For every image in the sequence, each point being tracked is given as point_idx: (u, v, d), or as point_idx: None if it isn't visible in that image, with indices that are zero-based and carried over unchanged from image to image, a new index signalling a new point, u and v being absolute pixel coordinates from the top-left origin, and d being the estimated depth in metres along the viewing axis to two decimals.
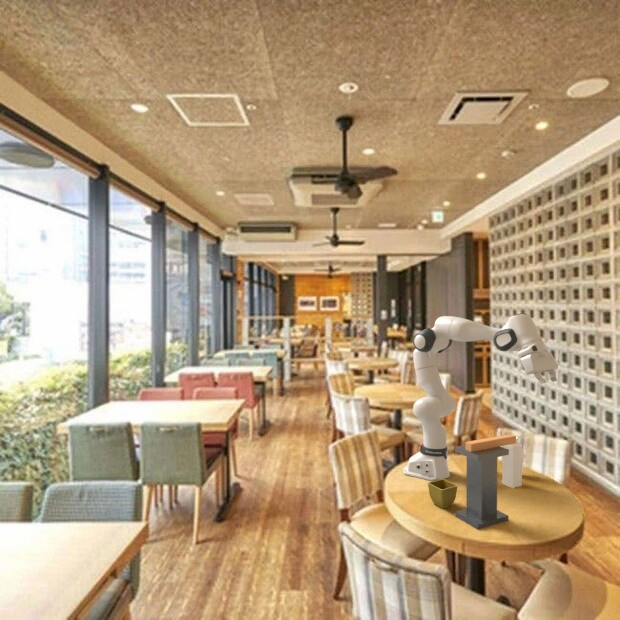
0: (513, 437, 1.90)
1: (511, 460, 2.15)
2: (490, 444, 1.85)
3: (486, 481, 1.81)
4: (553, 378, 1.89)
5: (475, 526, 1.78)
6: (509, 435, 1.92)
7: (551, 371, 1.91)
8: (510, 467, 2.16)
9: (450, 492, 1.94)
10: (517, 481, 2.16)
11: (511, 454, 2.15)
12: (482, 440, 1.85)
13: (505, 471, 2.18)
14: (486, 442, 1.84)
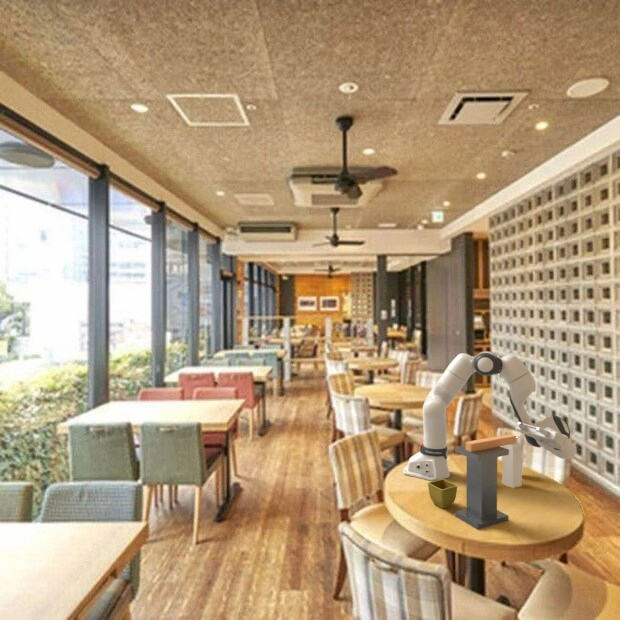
0: (513, 437, 1.90)
1: (511, 460, 2.15)
2: (490, 444, 1.85)
3: (486, 481, 1.81)
4: (520, 425, 2.00)
5: (475, 526, 1.78)
6: (509, 435, 1.92)
7: (523, 427, 2.02)
8: (510, 467, 2.16)
9: (450, 492, 1.94)
10: (517, 481, 2.16)
11: (511, 454, 2.15)
12: (482, 440, 1.85)
13: (505, 471, 2.18)
14: (486, 442, 1.84)
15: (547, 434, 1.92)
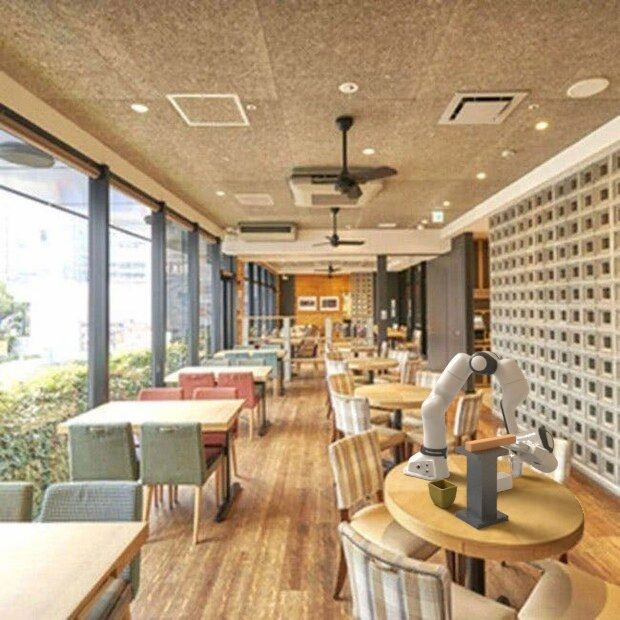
0: (513, 437, 1.90)
1: None
2: (490, 444, 1.85)
3: (486, 481, 1.81)
4: None
5: (475, 526, 1.78)
6: (509, 435, 1.92)
7: None
8: None
9: (450, 492, 1.94)
10: (508, 482, 2.14)
11: None
12: (482, 440, 1.85)
13: None
14: (486, 442, 1.84)
15: (527, 448, 1.87)
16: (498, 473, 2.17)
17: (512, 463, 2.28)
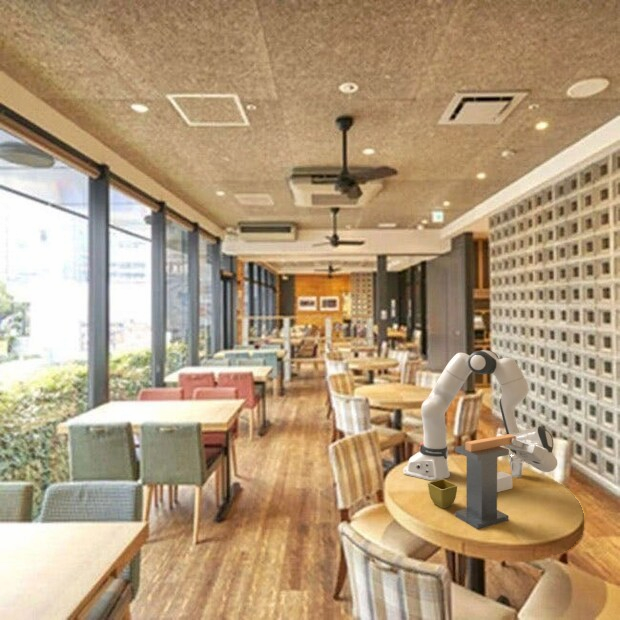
0: (513, 437, 1.90)
1: None
2: (490, 444, 1.85)
3: (486, 481, 1.81)
4: None
5: (475, 526, 1.78)
6: (509, 435, 1.92)
7: None
8: None
9: (450, 492, 1.94)
10: (508, 482, 2.14)
11: None
12: (482, 440, 1.85)
13: None
14: (486, 442, 1.84)
15: (521, 445, 1.89)
16: (498, 473, 2.17)
17: (512, 463, 2.28)
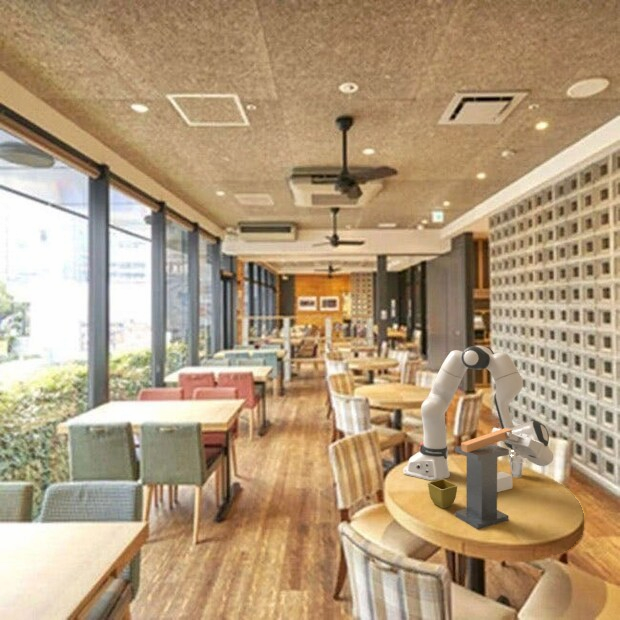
0: (509, 431, 1.89)
1: None
2: (486, 442, 1.84)
3: (486, 481, 1.81)
4: None
5: (475, 526, 1.78)
6: (505, 429, 1.91)
7: None
8: None
9: (450, 492, 1.94)
10: (508, 482, 2.14)
11: None
12: (478, 439, 1.84)
13: None
14: (482, 441, 1.83)
15: (517, 439, 1.88)
16: (498, 473, 2.17)
17: (512, 463, 2.28)
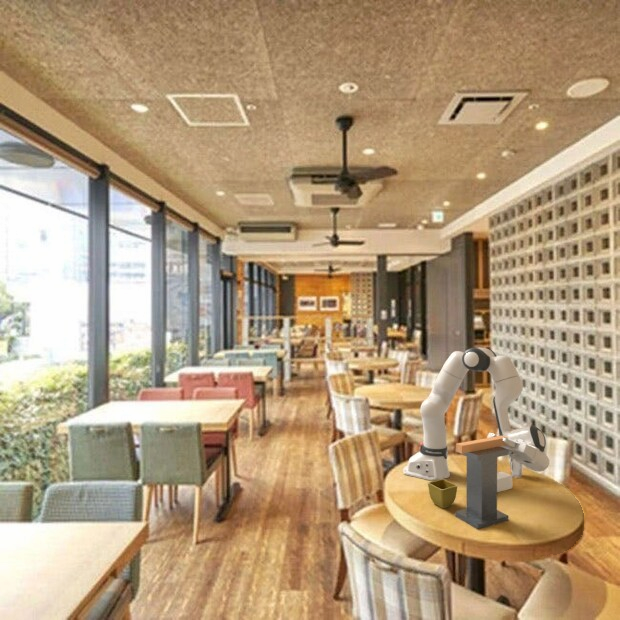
0: None
1: None
2: (481, 446, 1.83)
3: (486, 481, 1.81)
4: None
5: (475, 526, 1.78)
6: (501, 436, 1.90)
7: None
8: None
9: (450, 492, 1.94)
10: (508, 482, 2.14)
11: None
12: (473, 442, 1.83)
13: None
14: (477, 444, 1.82)
15: (513, 445, 1.86)
16: (498, 473, 2.17)
17: (512, 463, 2.28)
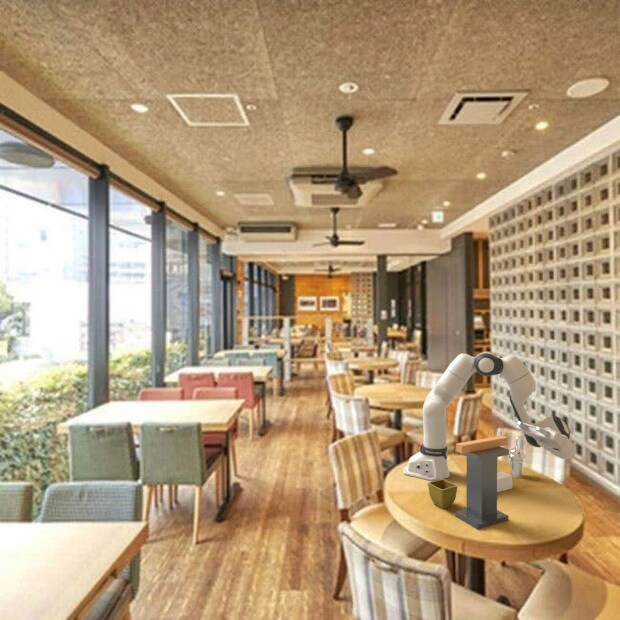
0: (505, 439, 1.88)
1: None
2: (481, 446, 1.83)
3: (486, 481, 1.81)
4: (521, 424, 2.01)
5: (475, 526, 1.78)
6: (501, 436, 1.90)
7: (523, 427, 2.03)
8: None
9: (450, 492, 1.94)
10: (508, 482, 2.14)
11: None
12: (473, 442, 1.83)
13: None
14: (477, 444, 1.82)
15: (547, 434, 1.93)
16: (498, 473, 2.17)
17: (512, 463, 2.28)
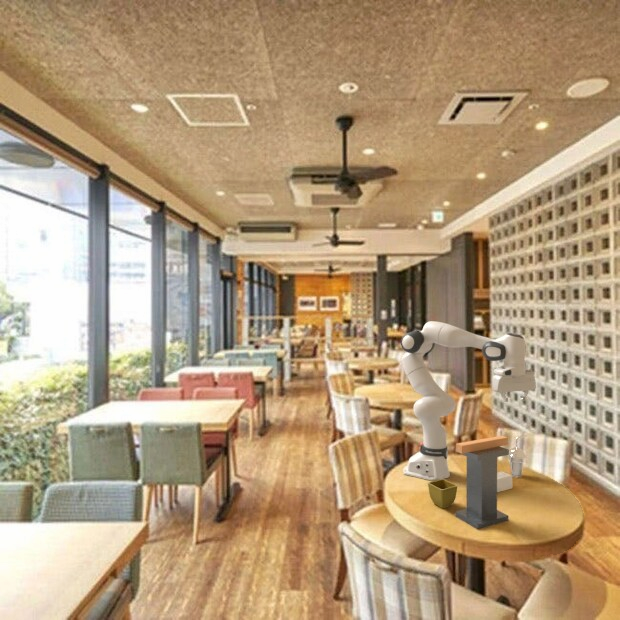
0: (505, 439, 1.88)
1: None
2: (481, 446, 1.83)
3: (486, 481, 1.81)
4: (522, 398, 2.10)
5: (475, 526, 1.78)
6: (501, 436, 1.90)
7: (524, 391, 2.10)
8: None
9: (450, 492, 1.94)
10: (508, 482, 2.14)
11: None
12: (473, 442, 1.83)
13: None
14: (477, 444, 1.82)
15: (502, 392, 2.07)
16: (498, 473, 2.17)
17: (512, 463, 2.28)
